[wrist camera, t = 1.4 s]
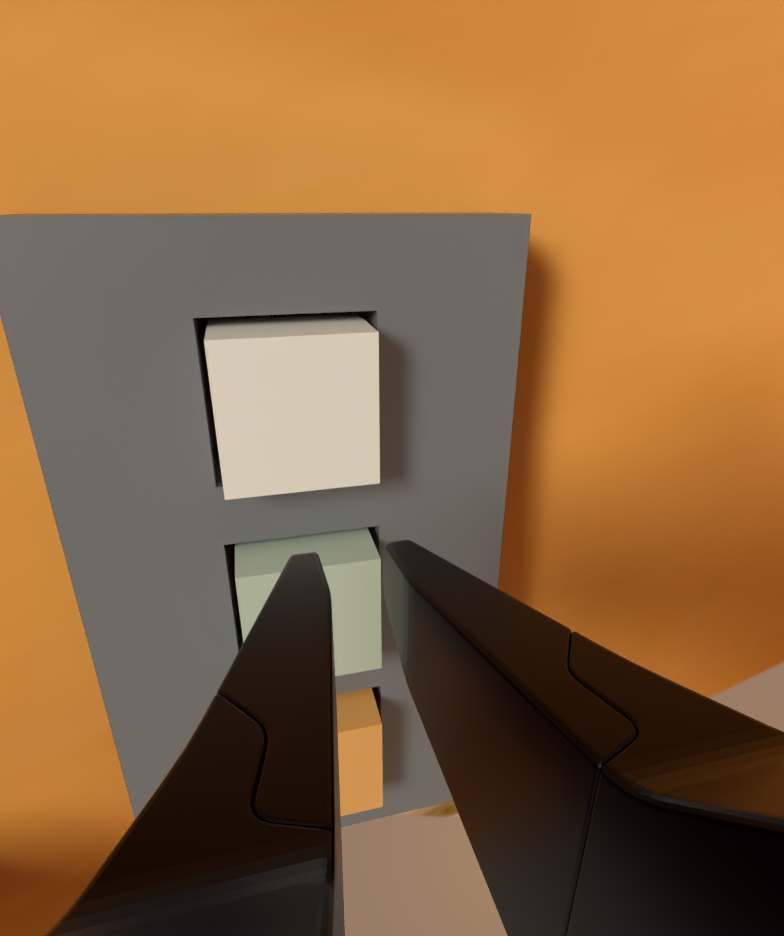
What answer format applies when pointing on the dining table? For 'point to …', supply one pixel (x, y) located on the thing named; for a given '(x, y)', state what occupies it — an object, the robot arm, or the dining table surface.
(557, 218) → the dining table surface
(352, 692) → the orange button
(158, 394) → the panel
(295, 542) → the sage button
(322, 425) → the off white button
